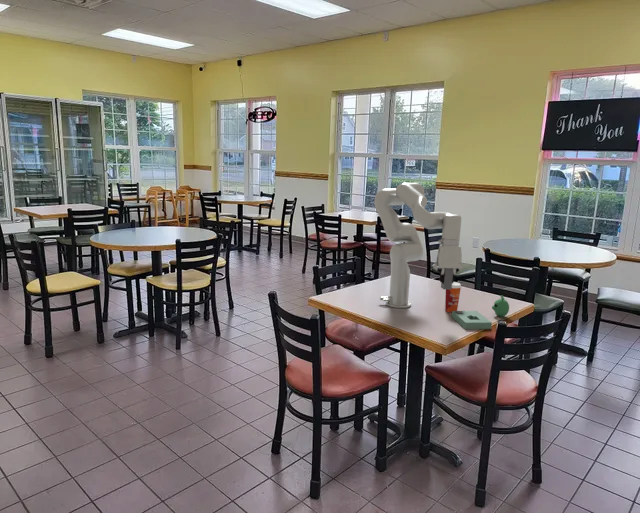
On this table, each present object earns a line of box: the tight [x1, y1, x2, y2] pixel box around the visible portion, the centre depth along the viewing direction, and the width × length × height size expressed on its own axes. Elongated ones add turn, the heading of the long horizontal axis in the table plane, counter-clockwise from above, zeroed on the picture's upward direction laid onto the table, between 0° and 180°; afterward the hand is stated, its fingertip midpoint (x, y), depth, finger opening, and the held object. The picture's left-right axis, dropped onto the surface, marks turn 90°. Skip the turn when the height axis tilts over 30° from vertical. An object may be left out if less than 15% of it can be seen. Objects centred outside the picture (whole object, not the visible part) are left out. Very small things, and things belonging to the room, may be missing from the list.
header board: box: [451, 310, 493, 330], centre depth 217 cm, size 12×16×3 cm
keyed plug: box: [440, 268, 453, 290], centre depth 212 cm, size 4×5×10 cm
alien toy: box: [491, 295, 510, 318], centre depth 227 cm, size 7×8×10 cm
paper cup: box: [444, 281, 462, 314], centre depth 232 cm, size 8×8×14 cm
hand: (446, 282), depth 212 cm, fingers closed on keyed plug, 3 cm apart
